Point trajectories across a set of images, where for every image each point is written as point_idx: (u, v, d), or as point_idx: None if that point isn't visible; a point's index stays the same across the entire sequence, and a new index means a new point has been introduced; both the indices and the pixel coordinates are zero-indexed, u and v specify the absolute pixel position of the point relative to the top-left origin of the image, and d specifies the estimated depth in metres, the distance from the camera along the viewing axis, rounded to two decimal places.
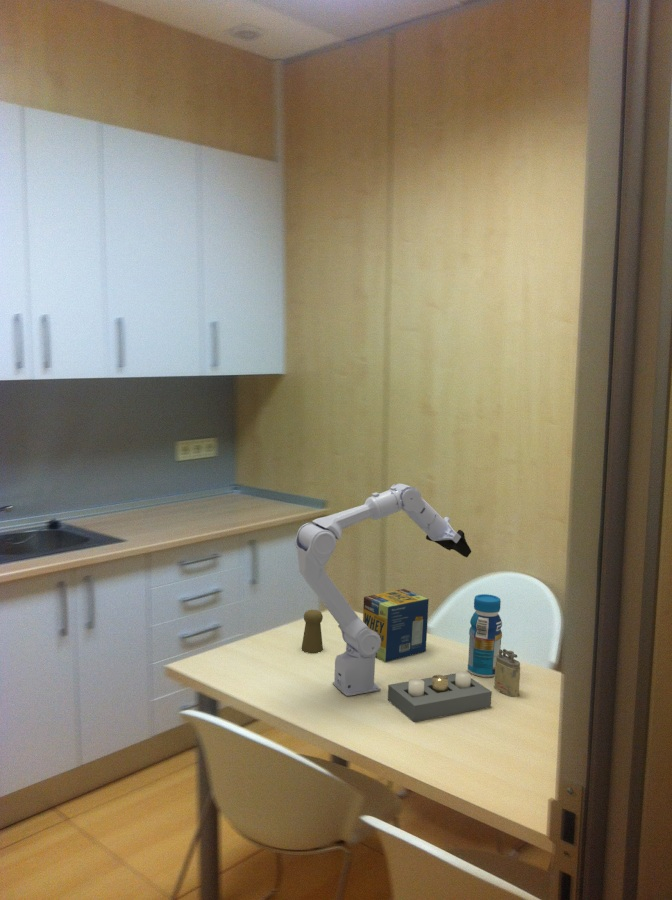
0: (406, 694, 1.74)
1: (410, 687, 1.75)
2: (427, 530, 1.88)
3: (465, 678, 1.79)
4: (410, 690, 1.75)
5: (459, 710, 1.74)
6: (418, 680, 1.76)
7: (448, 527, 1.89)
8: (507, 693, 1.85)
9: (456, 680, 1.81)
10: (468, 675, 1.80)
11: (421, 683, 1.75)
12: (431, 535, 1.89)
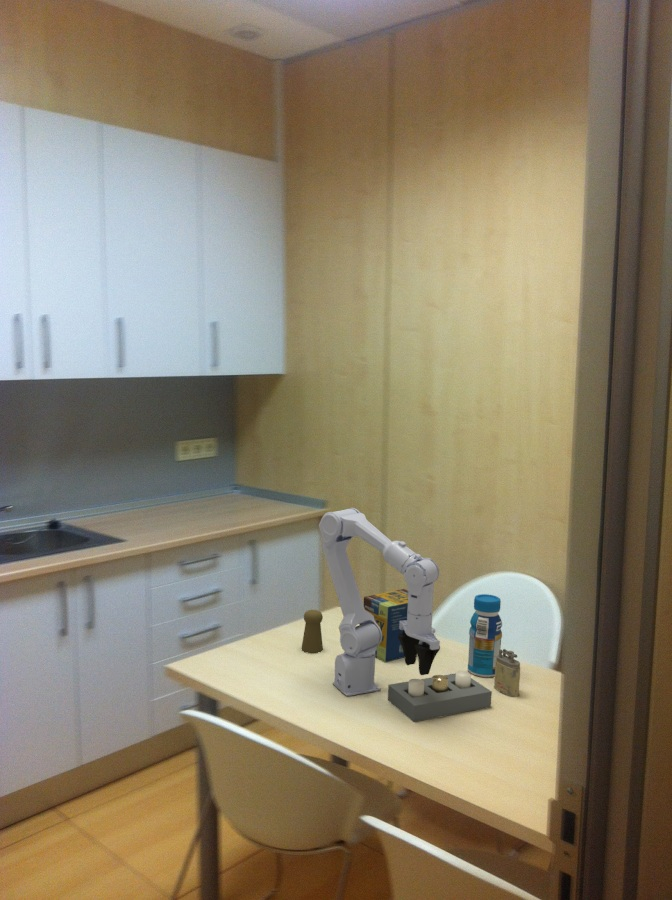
0: (406, 694, 1.74)
1: (410, 687, 1.75)
2: (414, 619, 1.71)
3: (465, 678, 1.79)
4: (410, 690, 1.75)
5: (459, 710, 1.74)
6: (418, 680, 1.76)
7: (431, 634, 1.72)
8: (507, 693, 1.85)
9: (456, 680, 1.81)
10: (468, 675, 1.80)
11: (421, 683, 1.75)
12: (412, 628, 1.72)
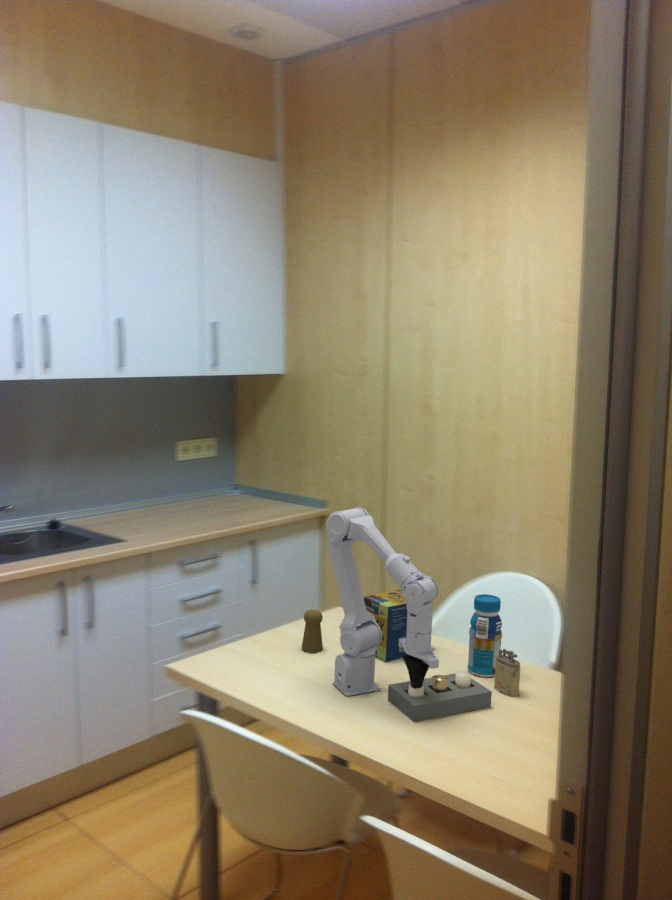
0: (406, 694, 1.74)
1: (410, 692, 1.75)
2: (413, 638, 1.72)
3: (465, 678, 1.79)
4: (410, 695, 1.75)
5: (459, 710, 1.74)
6: None
7: (430, 653, 1.73)
8: (507, 693, 1.85)
9: (456, 680, 1.81)
10: (468, 675, 1.80)
11: (421, 688, 1.75)
12: (411, 646, 1.72)
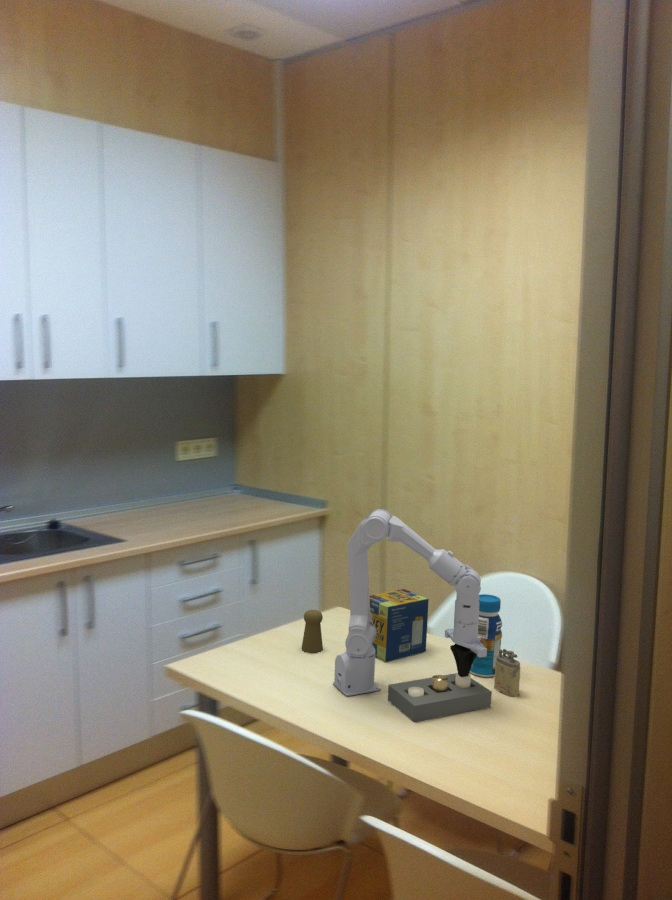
0: (406, 694, 1.74)
1: (410, 695, 1.75)
2: (461, 628, 1.77)
3: (465, 680, 1.79)
4: None
5: (459, 710, 1.74)
6: (418, 688, 1.77)
7: (477, 642, 1.78)
8: (507, 693, 1.85)
9: (456, 681, 1.81)
10: (468, 677, 1.80)
11: (420, 691, 1.75)
12: (459, 636, 1.78)
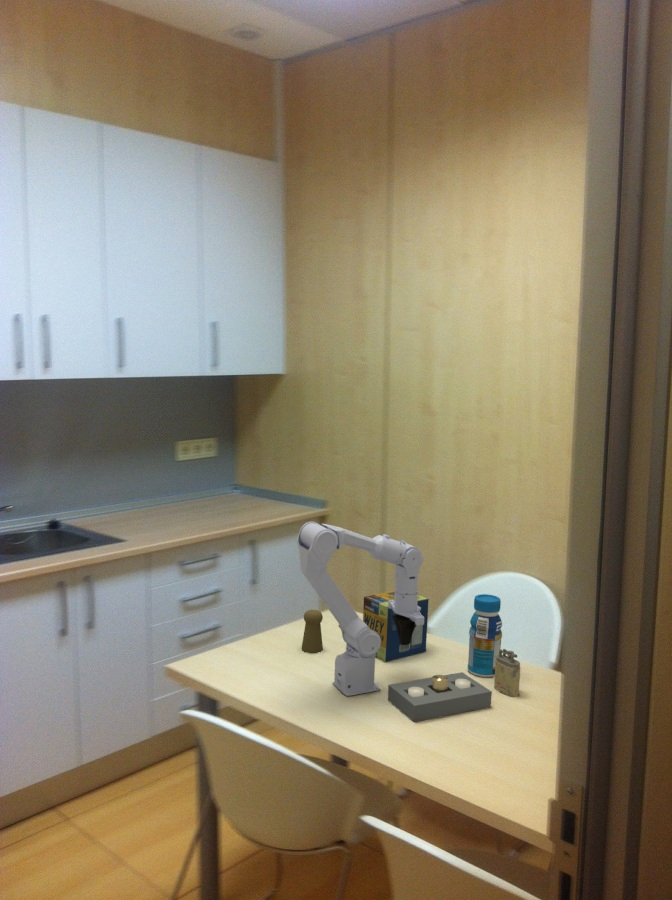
0: (406, 694, 1.74)
1: (410, 695, 1.75)
2: (401, 598, 1.87)
3: (464, 686, 1.79)
4: None
5: (459, 710, 1.74)
6: (418, 688, 1.77)
7: (416, 612, 1.88)
8: (507, 693, 1.85)
9: None
10: (468, 683, 1.80)
11: (420, 691, 1.75)
12: (399, 606, 1.88)
